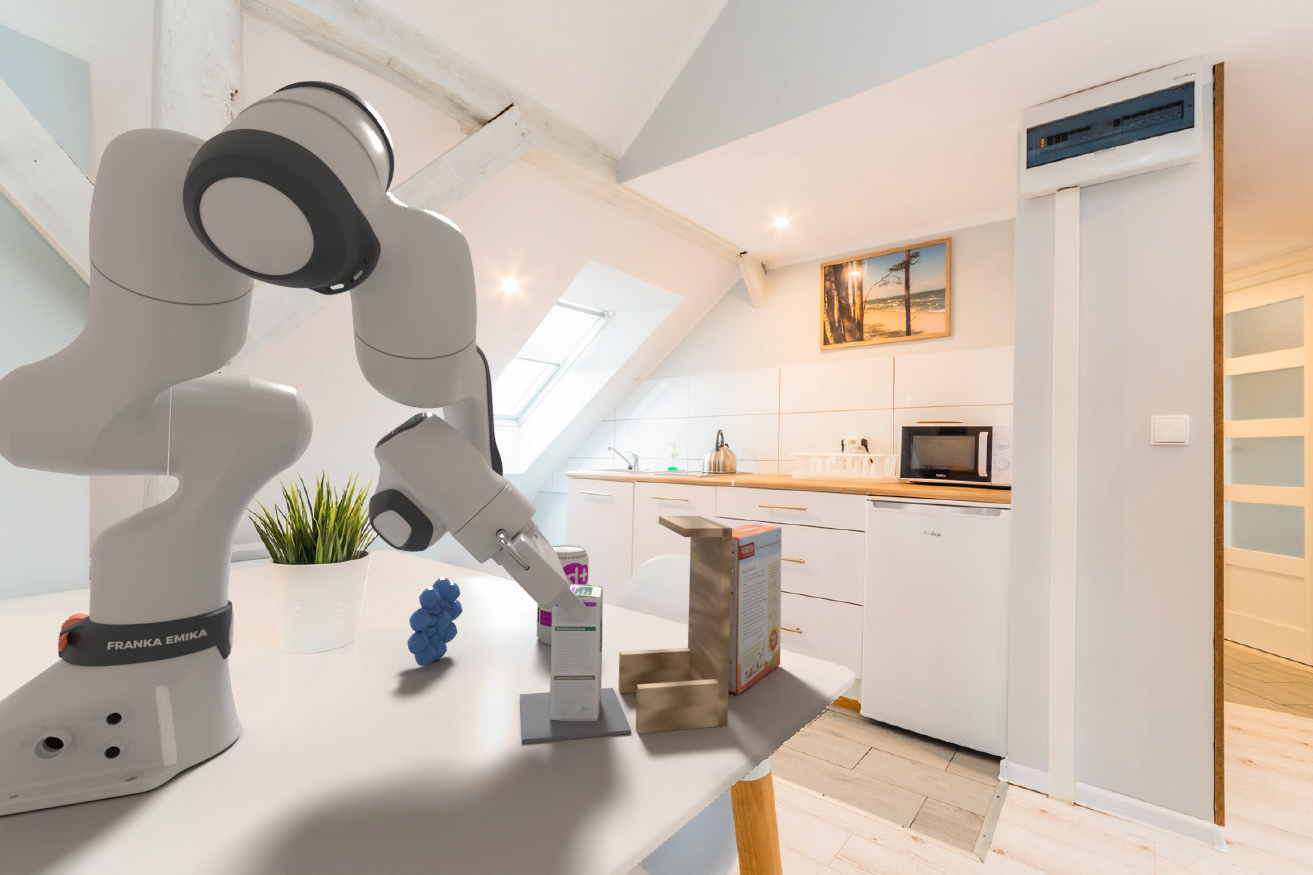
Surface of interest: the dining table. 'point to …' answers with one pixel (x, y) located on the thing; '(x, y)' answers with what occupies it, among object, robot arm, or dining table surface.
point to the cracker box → (754, 604)
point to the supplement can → (577, 572)
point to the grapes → (434, 621)
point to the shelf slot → (689, 642)
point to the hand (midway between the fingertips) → (580, 606)
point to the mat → (544, 729)
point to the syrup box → (577, 659)
